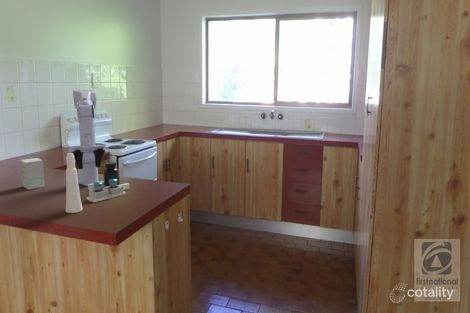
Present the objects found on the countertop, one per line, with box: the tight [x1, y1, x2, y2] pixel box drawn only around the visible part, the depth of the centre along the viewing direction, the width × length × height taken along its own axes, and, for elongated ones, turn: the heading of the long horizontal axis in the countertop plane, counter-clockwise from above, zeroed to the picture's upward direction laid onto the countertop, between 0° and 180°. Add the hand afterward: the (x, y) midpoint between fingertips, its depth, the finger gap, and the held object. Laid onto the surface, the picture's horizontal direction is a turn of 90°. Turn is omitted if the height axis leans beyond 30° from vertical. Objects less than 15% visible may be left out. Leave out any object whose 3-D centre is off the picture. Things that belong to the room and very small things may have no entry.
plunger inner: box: [109, 179, 118, 189], centre depth 160 cm, size 4×4×4 cm
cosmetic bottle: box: [65, 152, 84, 214], centre depth 140 cm, size 6×6×22 cm
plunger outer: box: [94, 182, 103, 192], centre depth 155 cm, size 4×4×4 cm
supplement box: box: [20, 157, 46, 191], centre depth 171 cm, size 7×7×13 cm
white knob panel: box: [86, 180, 130, 203], centre depth 165 cm, size 18×21×4 cm
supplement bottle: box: [102, 161, 121, 188], centre depth 170 cm, size 7×7×12 cm
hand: (89, 168), depth 152 cm, fingers open, 7 cm apart
